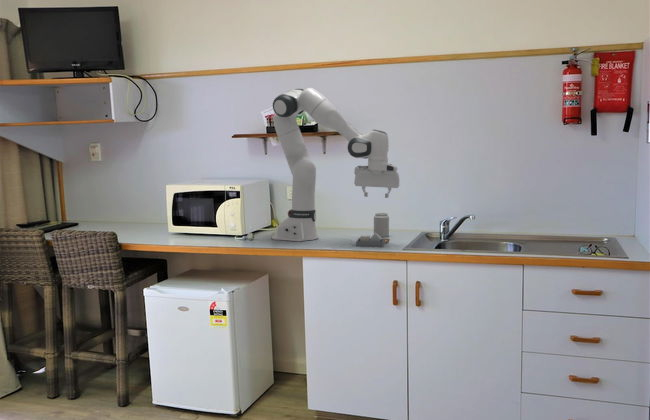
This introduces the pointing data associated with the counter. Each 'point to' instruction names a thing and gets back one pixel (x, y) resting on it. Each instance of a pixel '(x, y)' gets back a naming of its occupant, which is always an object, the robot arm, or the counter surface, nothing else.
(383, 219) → the can
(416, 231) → the counter surface
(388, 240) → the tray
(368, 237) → the stone
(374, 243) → the bin
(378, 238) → the stone
